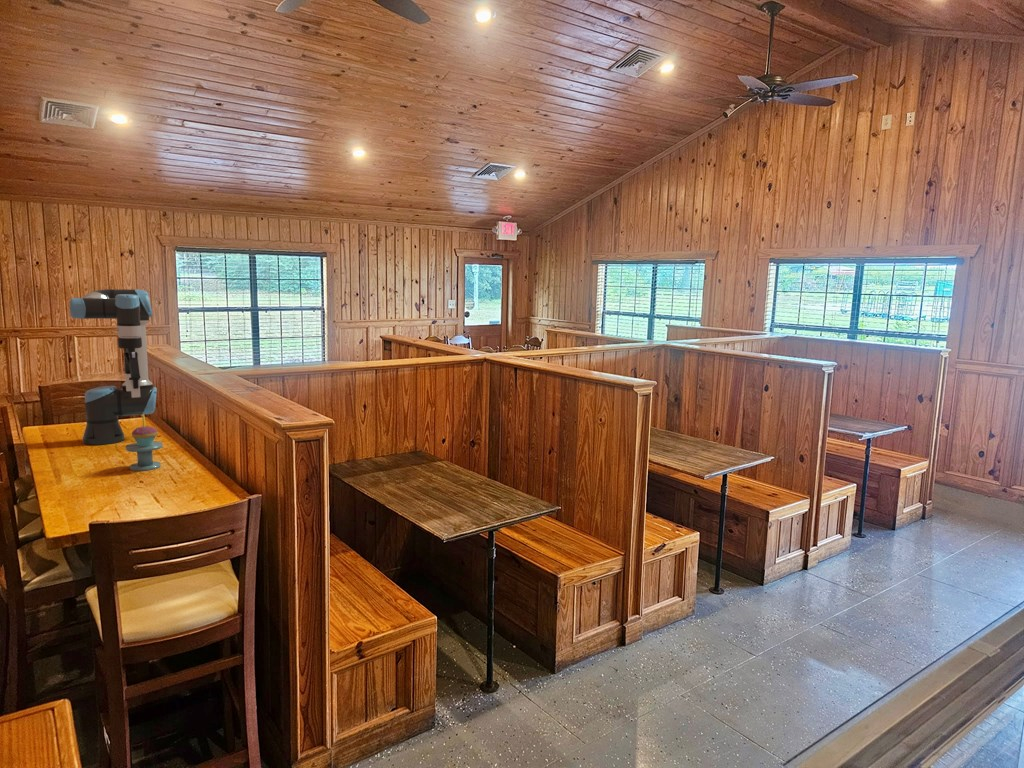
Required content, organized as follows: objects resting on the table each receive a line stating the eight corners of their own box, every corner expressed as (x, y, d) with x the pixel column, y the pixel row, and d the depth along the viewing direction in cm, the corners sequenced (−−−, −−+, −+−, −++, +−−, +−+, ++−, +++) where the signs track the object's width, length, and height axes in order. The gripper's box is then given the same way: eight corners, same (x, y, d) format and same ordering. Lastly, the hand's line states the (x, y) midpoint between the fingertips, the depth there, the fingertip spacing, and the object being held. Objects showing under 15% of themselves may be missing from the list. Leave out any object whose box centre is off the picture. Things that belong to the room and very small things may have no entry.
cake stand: (125, 465, 244) (123, 443, 242) (161, 461, 251) (159, 439, 249) (129, 473, 234) (127, 450, 233) (166, 468, 241) (165, 446, 240)
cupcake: (130, 444, 242) (128, 412, 240) (156, 441, 247) (154, 410, 245) (134, 449, 235) (132, 416, 233) (160, 446, 240) (159, 414, 238)
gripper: (113, 333, 245) (117, 389, 249) (122, 341, 225) (126, 400, 229) (136, 333, 249) (139, 387, 253) (146, 340, 230) (150, 399, 234)
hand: (133, 394), depth 241 cm, fingers open, 13 cm apart
